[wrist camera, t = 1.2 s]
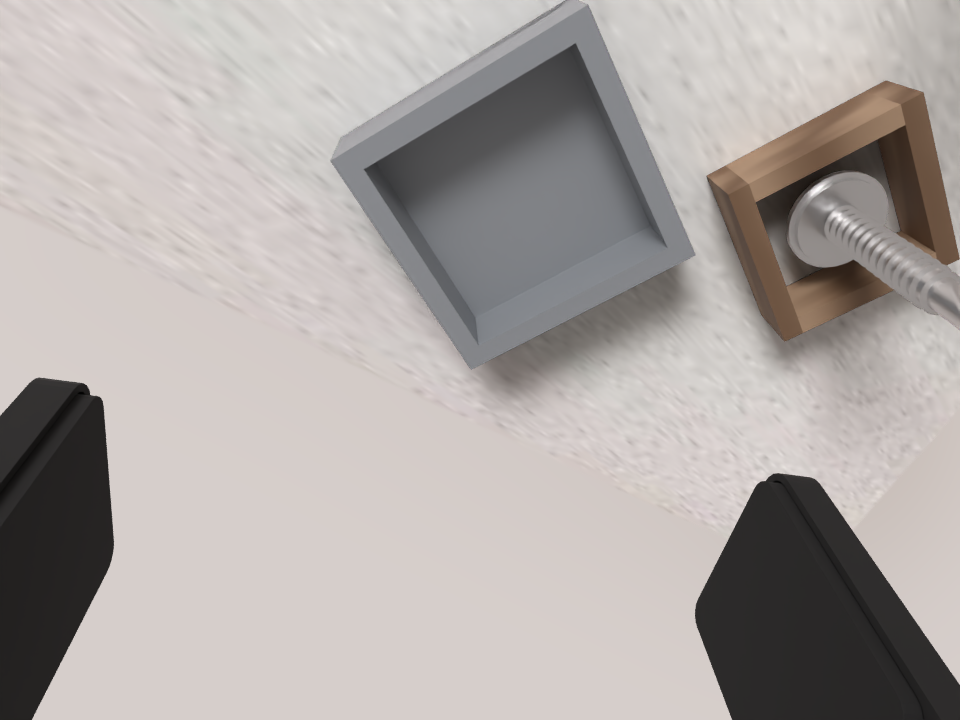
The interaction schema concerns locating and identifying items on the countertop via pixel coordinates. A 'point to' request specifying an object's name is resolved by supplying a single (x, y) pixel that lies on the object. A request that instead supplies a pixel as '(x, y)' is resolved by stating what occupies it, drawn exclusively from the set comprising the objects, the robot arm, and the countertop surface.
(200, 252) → the countertop surface
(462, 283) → the bin
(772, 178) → the frame
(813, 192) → the screw
